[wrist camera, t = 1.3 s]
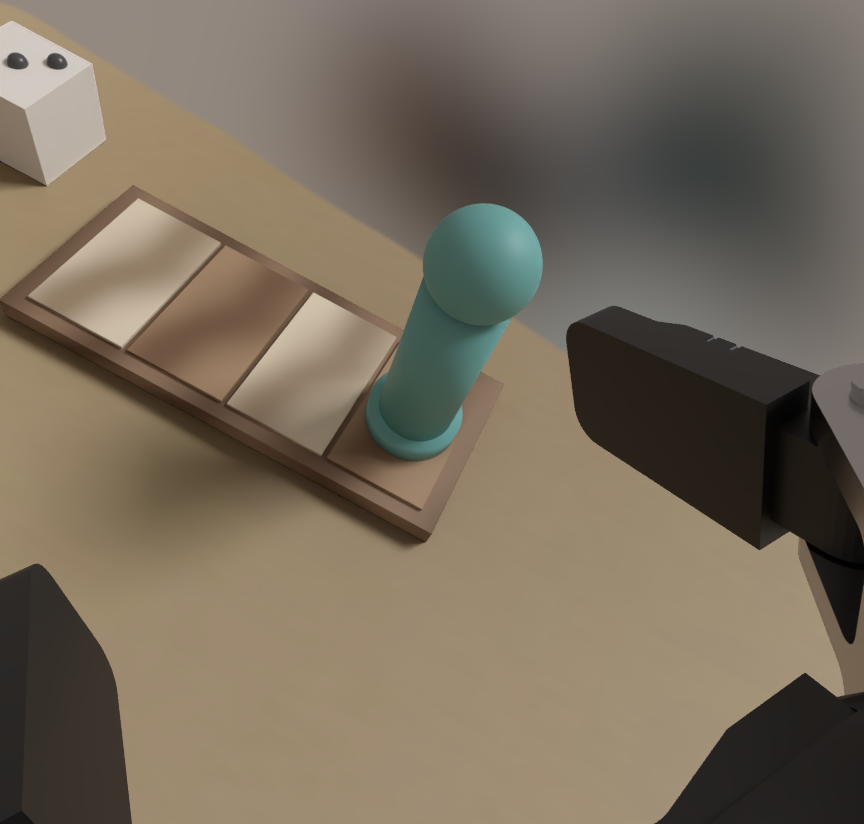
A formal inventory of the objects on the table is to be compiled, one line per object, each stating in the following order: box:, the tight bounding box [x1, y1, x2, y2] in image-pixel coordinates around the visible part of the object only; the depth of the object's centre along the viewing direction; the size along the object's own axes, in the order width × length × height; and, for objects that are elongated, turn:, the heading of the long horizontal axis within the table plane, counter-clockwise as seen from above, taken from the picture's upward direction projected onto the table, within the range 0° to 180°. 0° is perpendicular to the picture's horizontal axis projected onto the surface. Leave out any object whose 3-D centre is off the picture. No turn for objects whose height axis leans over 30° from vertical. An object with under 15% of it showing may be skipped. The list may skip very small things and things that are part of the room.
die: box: [0, 21, 106, 186], centre depth 37 cm, size 5×5×6 cm
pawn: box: [365, 204, 543, 461], centre depth 29 cm, size 5×5×14 cm
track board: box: [0, 185, 504, 542], centre depth 36 cm, size 24×10×1 cm, turn 65°
